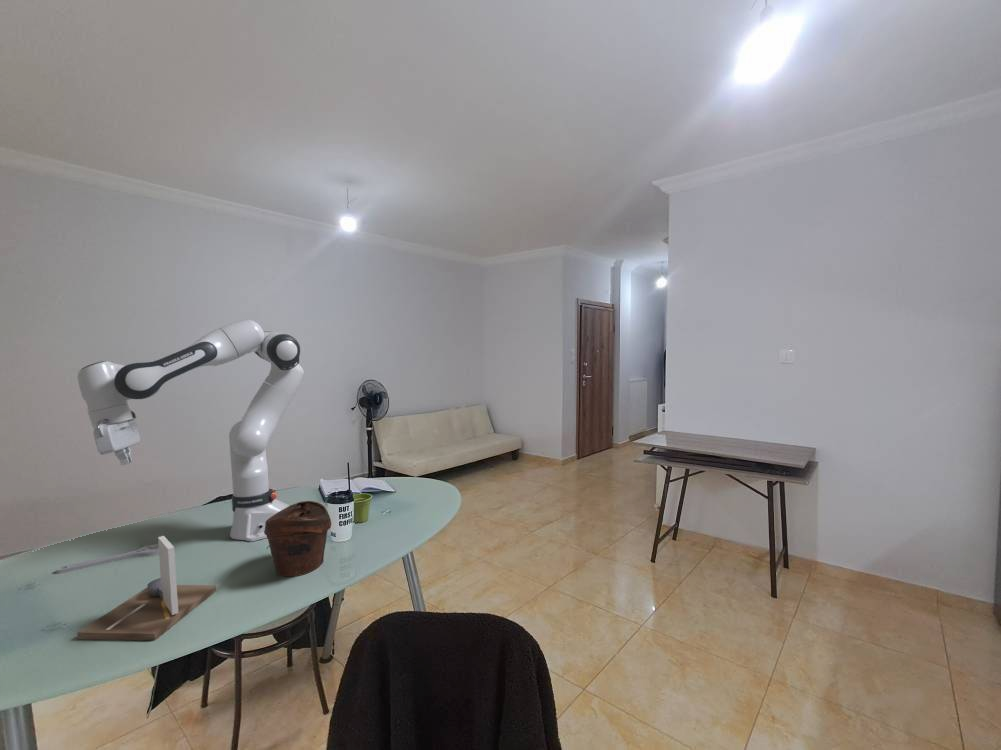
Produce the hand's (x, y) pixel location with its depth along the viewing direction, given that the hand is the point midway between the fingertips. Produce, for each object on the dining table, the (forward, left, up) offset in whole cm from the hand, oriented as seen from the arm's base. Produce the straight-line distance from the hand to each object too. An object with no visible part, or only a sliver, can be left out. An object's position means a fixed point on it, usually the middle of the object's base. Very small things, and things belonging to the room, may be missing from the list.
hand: (127, 463), depth 129 cm
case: (-43, +21, -32) cm, 58 cm away
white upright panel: (-13, +29, -30) cm, 43 cm away
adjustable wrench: (+7, -12, -32) cm, 35 cm away
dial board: (-10, +30, -32) cm, 45 cm away
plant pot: (-65, -6, -32) cm, 73 cm away
